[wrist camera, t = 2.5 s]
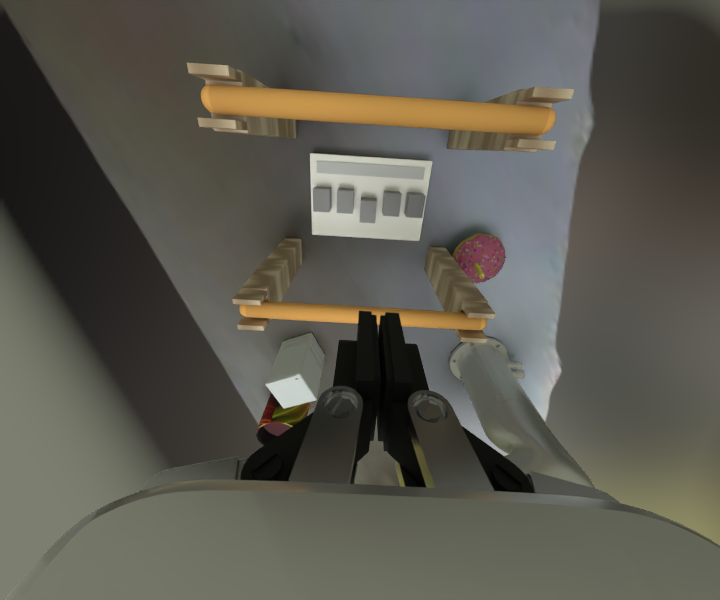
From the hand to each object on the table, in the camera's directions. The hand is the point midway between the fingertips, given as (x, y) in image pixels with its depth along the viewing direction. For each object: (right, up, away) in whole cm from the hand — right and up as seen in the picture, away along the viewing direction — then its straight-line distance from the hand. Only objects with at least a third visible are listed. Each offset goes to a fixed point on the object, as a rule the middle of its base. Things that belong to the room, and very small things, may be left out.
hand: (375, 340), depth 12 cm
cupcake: (+19, +11, +38) cm, 44 cm away
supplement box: (-13, -9, +50) cm, 53 cm away
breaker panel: (+1, +19, +34) cm, 39 cm away
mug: (-17, -23, +58) cm, 65 cm away
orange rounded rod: (+1, +17, +11) cm, 21 cm away
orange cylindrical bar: (0, 0, +21) cm, 21 cm away
